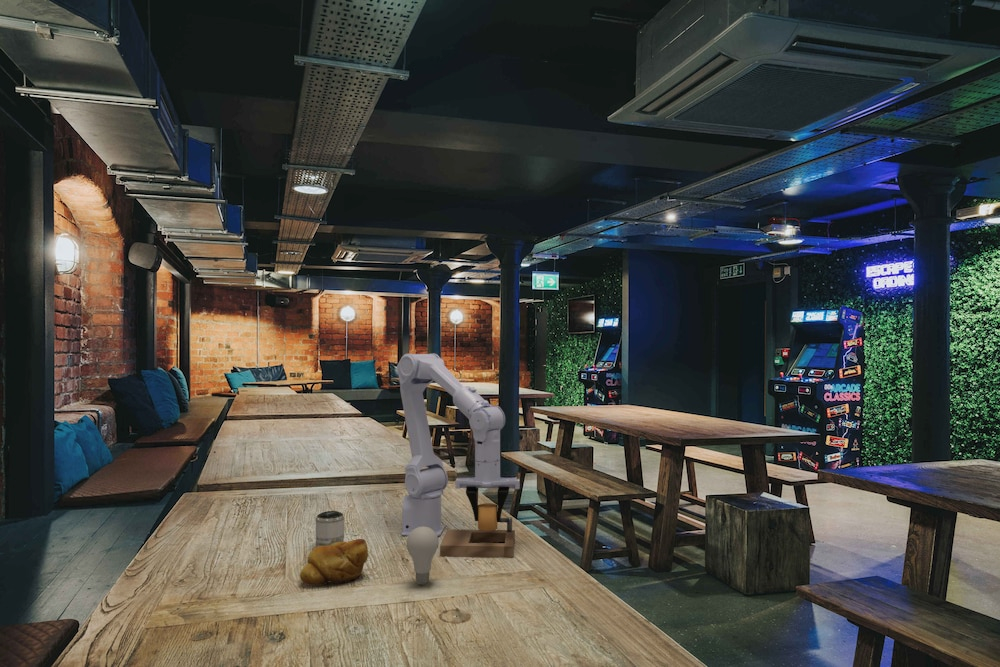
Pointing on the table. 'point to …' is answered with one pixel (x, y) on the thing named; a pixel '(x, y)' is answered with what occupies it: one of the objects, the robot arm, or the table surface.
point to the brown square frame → (462, 546)
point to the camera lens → (329, 528)
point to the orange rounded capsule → (487, 517)
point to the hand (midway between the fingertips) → (487, 520)
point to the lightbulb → (422, 551)
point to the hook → (509, 523)
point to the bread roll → (335, 562)
